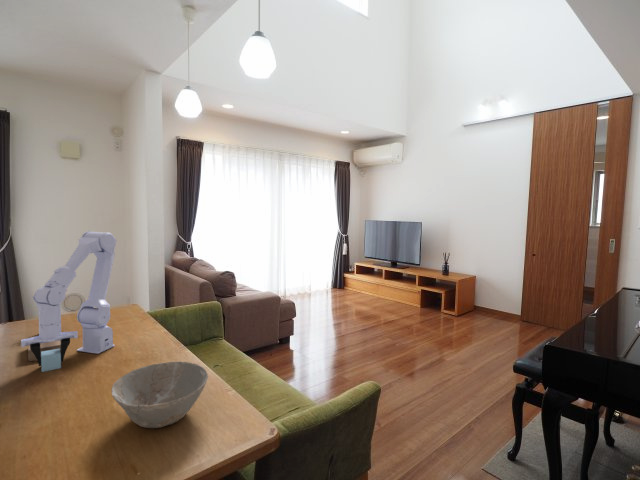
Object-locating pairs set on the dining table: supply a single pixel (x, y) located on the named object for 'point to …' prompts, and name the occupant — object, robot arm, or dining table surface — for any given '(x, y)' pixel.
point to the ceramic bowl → (159, 392)
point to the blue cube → (50, 360)
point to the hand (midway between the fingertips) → (51, 363)
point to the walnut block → (44, 348)
